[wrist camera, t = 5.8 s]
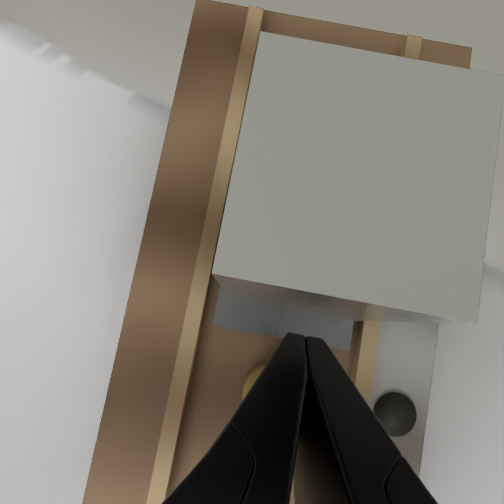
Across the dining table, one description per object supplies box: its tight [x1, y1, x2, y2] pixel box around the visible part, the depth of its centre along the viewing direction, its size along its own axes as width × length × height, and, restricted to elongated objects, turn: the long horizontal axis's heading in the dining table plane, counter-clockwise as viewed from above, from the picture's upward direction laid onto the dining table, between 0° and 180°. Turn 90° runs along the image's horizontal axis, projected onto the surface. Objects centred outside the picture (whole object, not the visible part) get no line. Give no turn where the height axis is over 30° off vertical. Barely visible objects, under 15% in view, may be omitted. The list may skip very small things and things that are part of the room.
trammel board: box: [82, 0, 472, 504], centre depth 18 cm, size 21×12×3 cm, turn 169°
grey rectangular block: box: [212, 31, 504, 351], centre depth 13 cm, size 6×7×11 cm
